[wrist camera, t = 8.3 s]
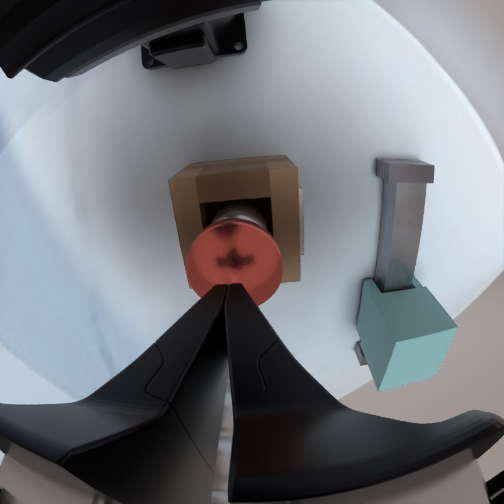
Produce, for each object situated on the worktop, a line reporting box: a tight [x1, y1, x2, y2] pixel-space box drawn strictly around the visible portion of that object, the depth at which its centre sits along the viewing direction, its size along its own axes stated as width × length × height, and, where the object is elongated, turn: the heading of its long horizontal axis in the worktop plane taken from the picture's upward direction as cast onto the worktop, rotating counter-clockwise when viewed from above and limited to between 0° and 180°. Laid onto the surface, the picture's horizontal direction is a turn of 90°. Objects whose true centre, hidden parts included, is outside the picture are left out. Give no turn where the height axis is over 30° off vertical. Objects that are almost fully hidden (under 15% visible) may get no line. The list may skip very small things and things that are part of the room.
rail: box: [355, 158, 434, 366], centre depth 20 cm, size 17×4×2 cm, turn 5°
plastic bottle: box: [210, 375, 233, 504], centre depth 16 cm, size 6×7×20 cm
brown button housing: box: [168, 155, 304, 289], centre depth 16 cm, size 6×6×5 cm
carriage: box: [356, 275, 458, 391], centre depth 18 cm, size 5×5×7 cm
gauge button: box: [186, 198, 283, 306], centre depth 13 cm, size 4×4×6 cm
